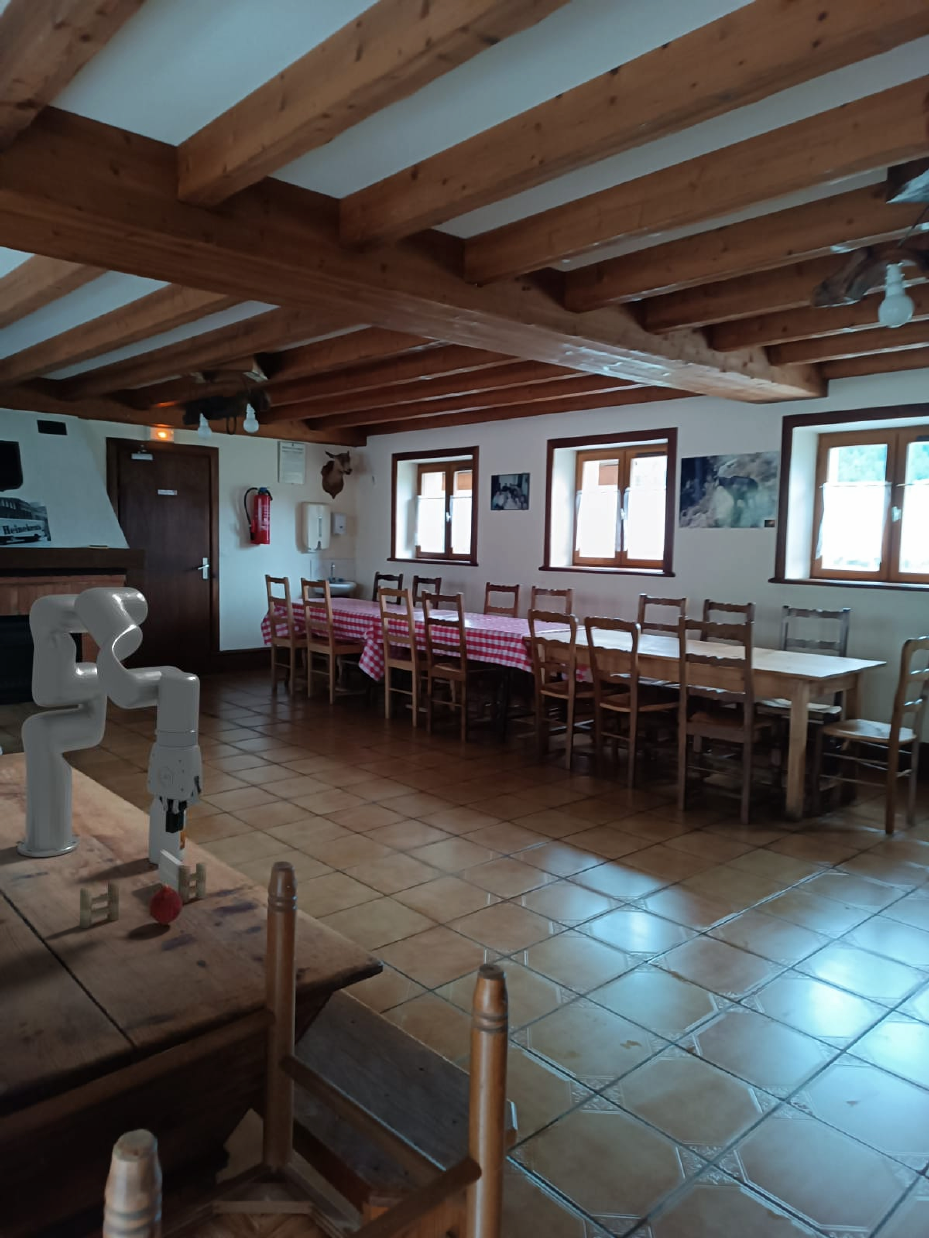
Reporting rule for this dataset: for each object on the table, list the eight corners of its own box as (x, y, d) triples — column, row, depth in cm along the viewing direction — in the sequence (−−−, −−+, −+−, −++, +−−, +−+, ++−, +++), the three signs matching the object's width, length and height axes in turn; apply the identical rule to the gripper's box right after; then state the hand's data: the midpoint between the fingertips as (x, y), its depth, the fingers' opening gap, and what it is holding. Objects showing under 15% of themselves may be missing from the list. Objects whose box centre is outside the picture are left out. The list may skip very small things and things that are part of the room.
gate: (183, 894, 173) (184, 864, 172) (177, 895, 172) (178, 865, 172) (163, 877, 180) (164, 849, 180) (158, 879, 179) (158, 850, 179)
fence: (78, 924, 159) (78, 888, 158) (202, 894, 175) (203, 861, 175) (81, 928, 157) (82, 892, 157) (207, 897, 174) (208, 864, 173)
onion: (188, 921, 163) (189, 881, 162) (168, 934, 157) (169, 892, 157) (162, 915, 165) (163, 875, 164) (142, 927, 159) (143, 886, 158)
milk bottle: (173, 867, 188) (175, 779, 186) (141, 863, 189) (143, 775, 188) (190, 855, 195) (193, 770, 194) (160, 851, 197) (162, 766, 195)
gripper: (133, 735, 162) (130, 828, 164) (193, 747, 156) (190, 844, 158) (162, 728, 169) (159, 818, 171) (221, 740, 163) (218, 832, 165)
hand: (174, 830), depth 164 cm, fingers closed
